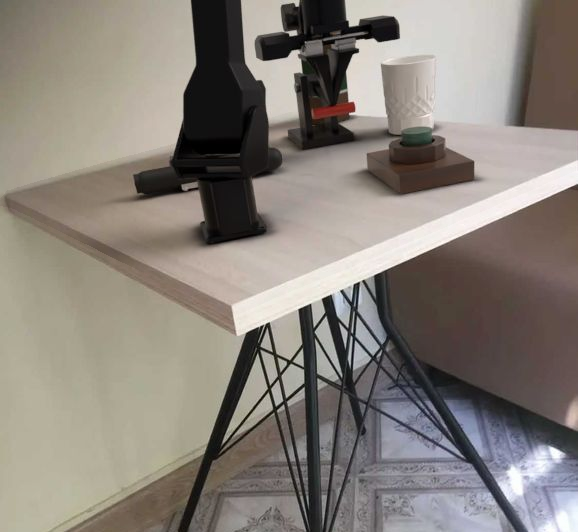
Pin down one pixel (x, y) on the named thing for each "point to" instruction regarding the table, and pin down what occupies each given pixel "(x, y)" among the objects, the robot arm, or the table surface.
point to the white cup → (409, 91)
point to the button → (416, 136)
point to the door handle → (168, 179)
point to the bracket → (310, 133)
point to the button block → (420, 166)
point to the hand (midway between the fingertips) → (332, 105)
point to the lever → (327, 110)
